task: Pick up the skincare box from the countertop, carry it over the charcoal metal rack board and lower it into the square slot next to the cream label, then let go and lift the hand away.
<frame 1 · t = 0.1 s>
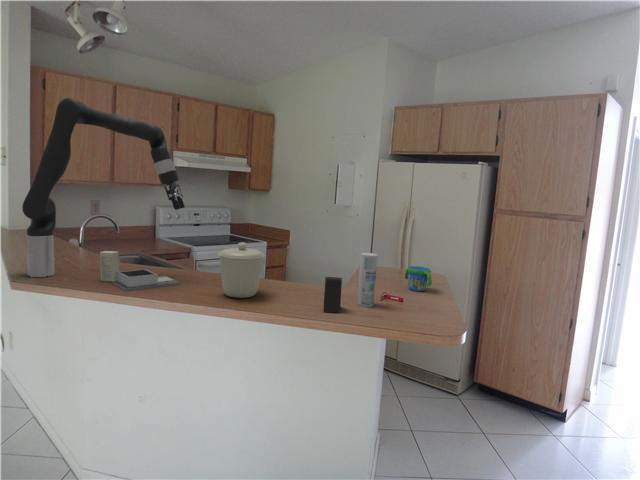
hand: (180, 208, 181), 31 cm above the table, tool tilted 20°, fingers open, 8 cm apart
canister: (240, 295, 169), on the table
spray can: (365, 304, 166), on the table
snack cup: (416, 290, 196), on the table
rack board: (146, 283, 176), on the table
skincare box: (110, 280, 178), on the table
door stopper: (331, 309, 157), on the table
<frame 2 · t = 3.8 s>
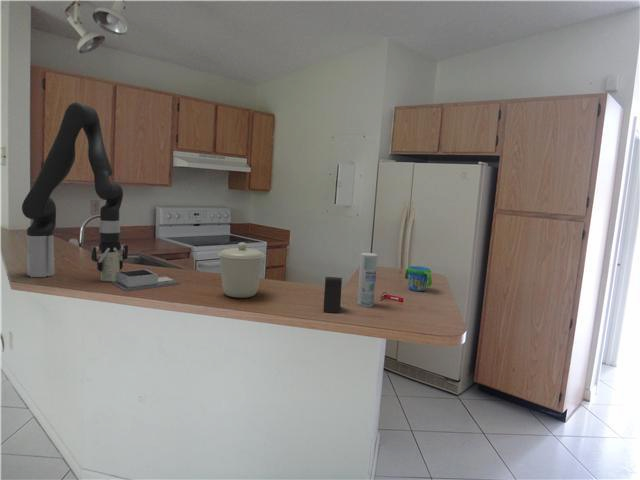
hand: (109, 270, 178), 4 cm above the table, tool pointing down, fingers closed on skincare box, 7 cm apart
skincare box: (110, 280, 178), on the table, touching gripper
everything else where it was.
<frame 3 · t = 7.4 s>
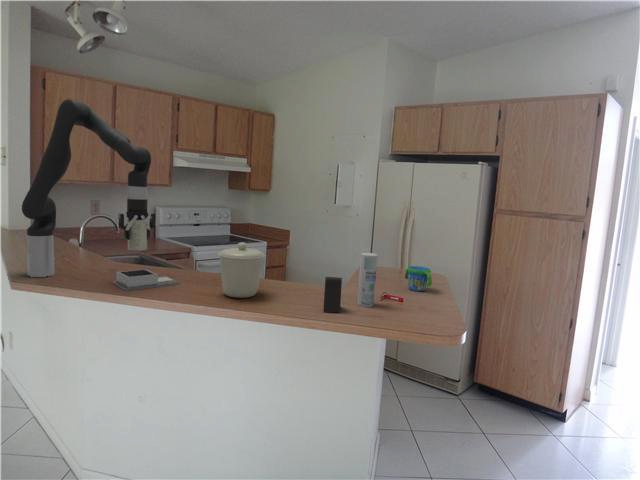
hand: (137, 239, 171), 19 cm above the table, tool pointing down, fingers closed on skincare box, 7 cm apart
skincare box: (137, 250, 172), point 14 cm above the table, touching gripper
everything else where it was.
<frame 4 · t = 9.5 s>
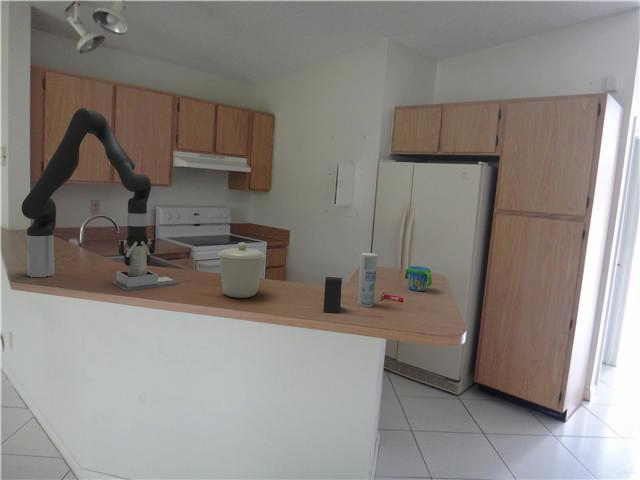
hand: (137, 264, 173), 8 cm above the table, tool pointing down, fingers closed on skincare box, 7 cm apart
skincare box: (137, 275, 173), point 4 cm above the table, touching gripper
everything else where it was.
when the fingers open (7 cm above the table, at t = 11.0 s): skincare box drops 2 cm, resting on rack board.
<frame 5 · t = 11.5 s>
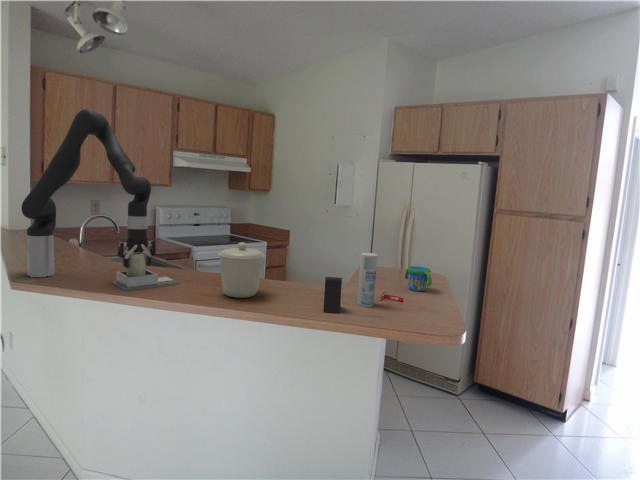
hand: (137, 266, 173), 8 cm above the table, tool pointing down, fingers open, 8 cm apart
skincare box: (136, 283, 173), point 1 cm above the table, touching rack board
everything else where it was.
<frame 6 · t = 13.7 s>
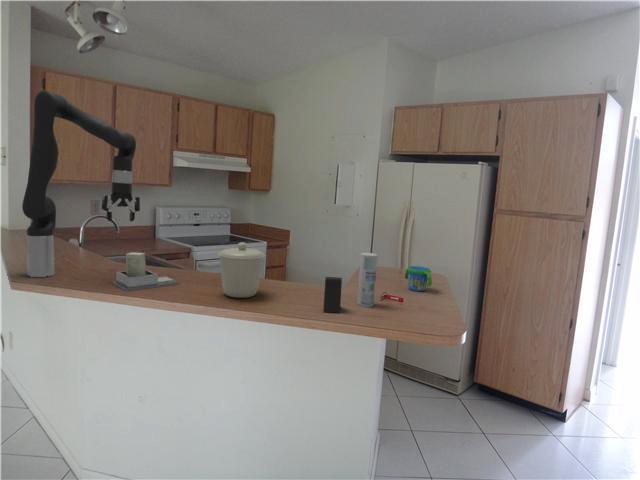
hand: (120, 221, 176), 25 cm above the table, tool pointing down, fingers open, 8 cm apart
nothing on the table moved.
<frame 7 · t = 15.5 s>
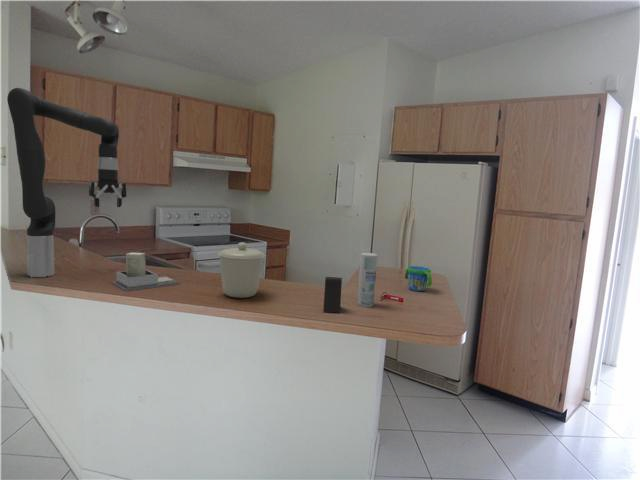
hand: (108, 207, 181), 30 cm above the table, tool pointing down, fingers open, 8 cm apart
nothing on the table moved.
at the end: skincare box 0.4 cm from the target spot on the rack board, point 0.8 cm above the rack board's base; skincare box tilted 0°; the gripper is holding nothing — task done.
